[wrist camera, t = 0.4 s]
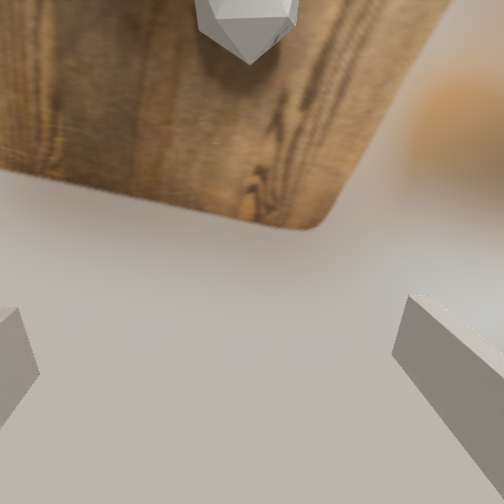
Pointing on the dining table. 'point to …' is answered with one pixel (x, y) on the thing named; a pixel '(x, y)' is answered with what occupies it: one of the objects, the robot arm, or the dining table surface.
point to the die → (246, 24)
